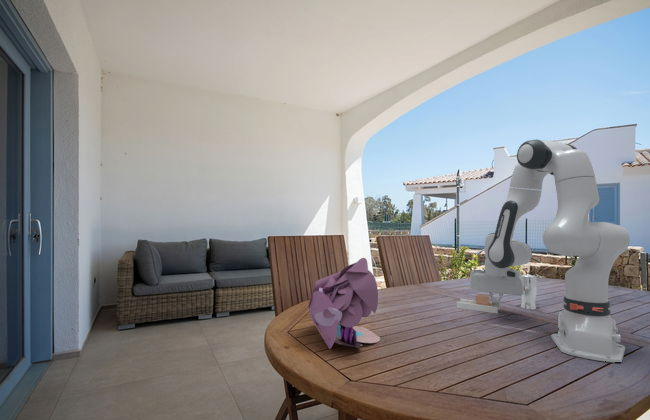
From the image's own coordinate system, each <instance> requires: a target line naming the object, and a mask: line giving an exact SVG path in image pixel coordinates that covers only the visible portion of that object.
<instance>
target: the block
mask: <svg viewBox="0 0 650 420" xmlns="http://www.w3.org/2000/svg"><path fill="white" fill-rule="evenodd" d="M475 301H476V304H478V305H486V306H490V303H491V297H490V295H489V294H485V293H477V294H476V295H475Z"/></svg>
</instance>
